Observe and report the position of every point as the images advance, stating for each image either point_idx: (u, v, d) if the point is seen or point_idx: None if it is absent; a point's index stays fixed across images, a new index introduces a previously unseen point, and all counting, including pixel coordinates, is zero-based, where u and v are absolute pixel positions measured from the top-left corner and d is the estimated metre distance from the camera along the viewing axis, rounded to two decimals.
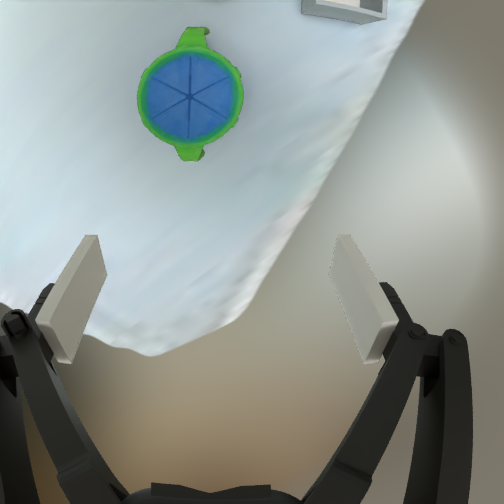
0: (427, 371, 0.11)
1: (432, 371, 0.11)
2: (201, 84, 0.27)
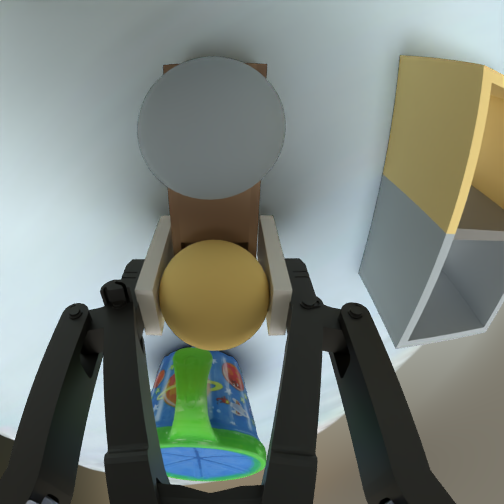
0: (327, 345, 0.12)
1: (334, 346, 0.12)
2: (212, 454, 0.20)
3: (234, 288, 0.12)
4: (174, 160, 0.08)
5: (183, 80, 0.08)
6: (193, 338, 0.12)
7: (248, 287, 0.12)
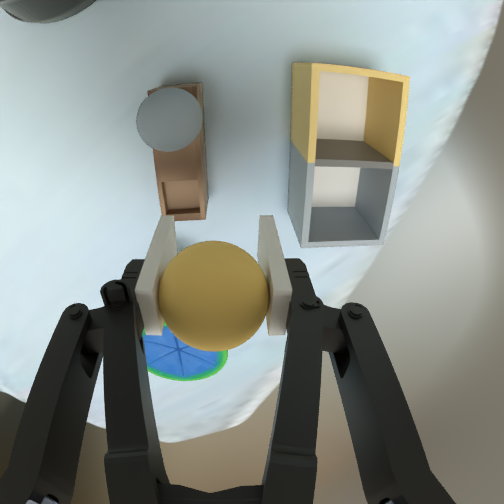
0: (327, 345, 0.12)
1: (334, 346, 0.12)
2: None
3: (233, 290, 0.12)
4: (151, 133, 0.20)
5: (153, 100, 0.19)
6: (192, 338, 0.12)
7: (247, 288, 0.12)
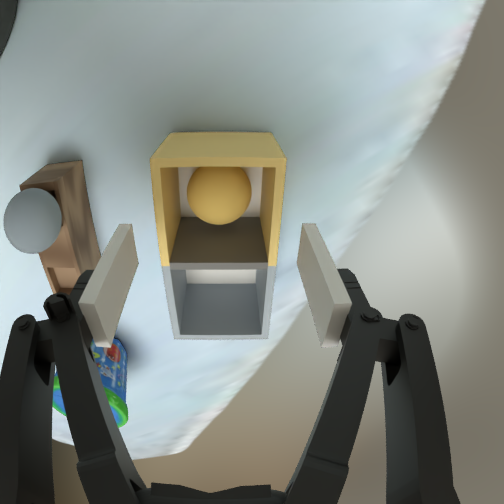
0: (384, 356, 0.12)
1: (390, 356, 0.12)
2: None
3: (230, 178, 0.22)
4: (11, 242, 0.18)
5: (9, 210, 0.17)
6: (207, 208, 0.22)
7: (238, 179, 0.22)
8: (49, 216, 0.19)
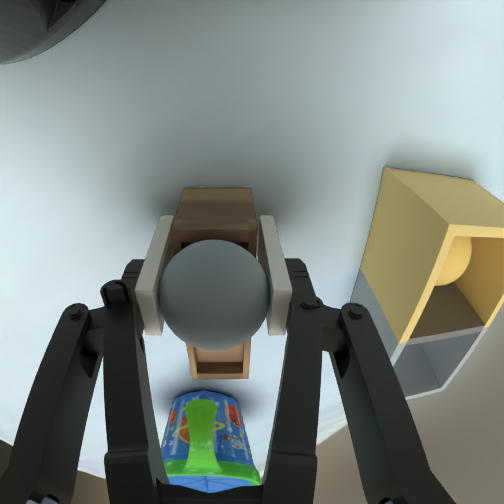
0: (328, 345, 0.12)
1: (334, 346, 0.12)
2: (217, 478, 0.24)
3: (467, 239, 0.16)
4: (191, 340, 0.13)
5: (192, 288, 0.12)
6: (444, 272, 0.17)
7: (470, 239, 0.17)
8: (267, 294, 0.13)
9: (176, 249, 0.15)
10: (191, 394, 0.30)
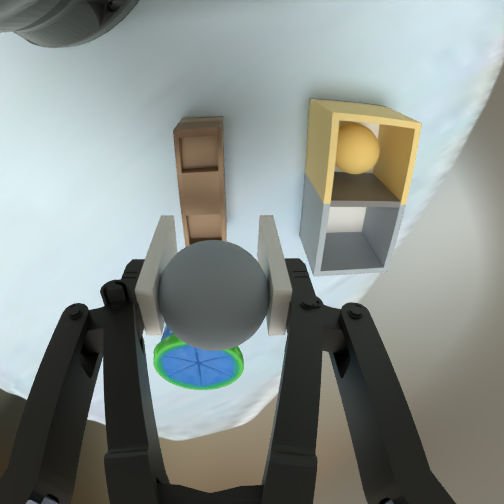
0: (327, 345, 0.12)
1: (334, 346, 0.12)
2: (207, 357, 0.34)
3: (370, 136, 0.26)
4: (190, 340, 0.13)
5: (192, 289, 0.12)
6: (353, 158, 0.26)
7: (374, 138, 0.26)
8: (267, 294, 0.14)
9: (176, 142, 0.25)
10: None
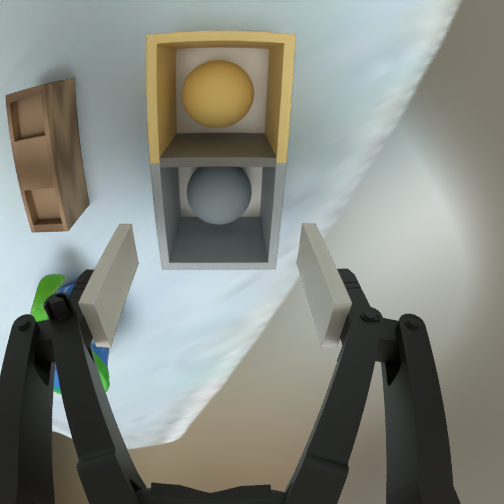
0: (384, 355, 0.12)
1: (390, 356, 0.12)
2: None
3: (229, 70, 0.18)
4: (205, 210, 0.22)
5: (208, 178, 0.22)
6: (201, 100, 0.18)
7: (238, 73, 0.18)
8: (250, 188, 0.23)
9: (8, 108, 0.16)
10: (65, 286, 0.31)
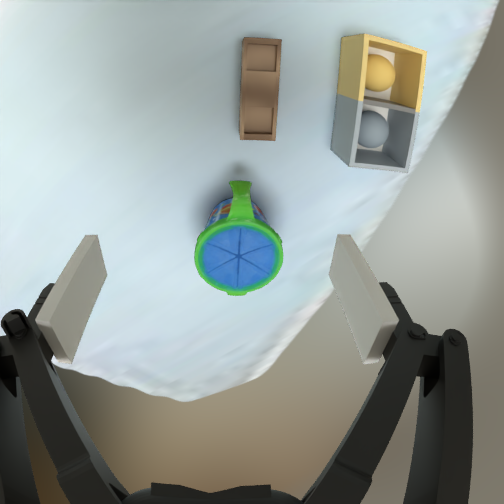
0: (426, 371, 0.11)
1: (433, 371, 0.11)
2: (249, 247, 0.37)
3: (387, 61, 0.30)
4: (369, 136, 0.35)
5: (371, 117, 0.34)
6: (376, 74, 0.30)
7: (391, 63, 0.30)
8: None
9: (245, 46, 0.29)
10: (228, 199, 0.43)
